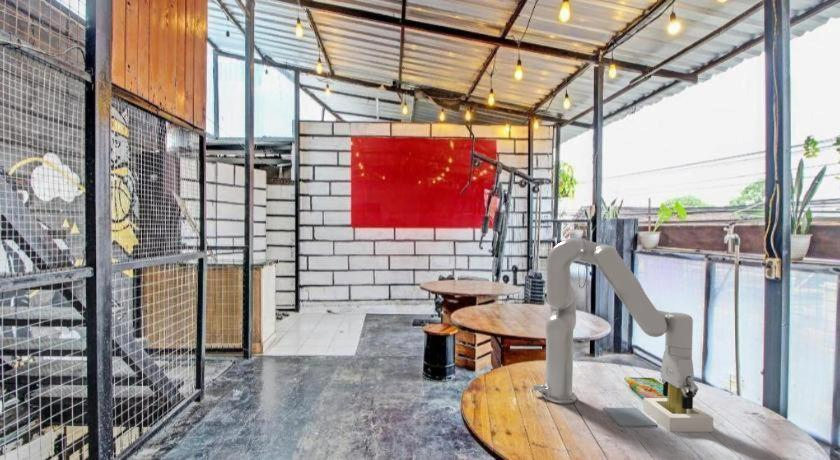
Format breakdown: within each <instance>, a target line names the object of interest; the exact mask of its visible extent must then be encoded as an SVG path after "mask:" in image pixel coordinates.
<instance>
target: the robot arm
mask: <svg viewBox="0 0 840 460" xmlns="http://www.w3.org/2000/svg"><path fill="white" fill-rule="evenodd" d="M576 261H578V262H583V263H586V264H590V265H593V266H595V267H596V268H597V269H598V270H599V272H600V274H602V276H603V277H604V278H605V280H606V281H607V283H608V284H609V286H610V287H611V289H612V290H613V292H614V293H615V294H616V297H618V298H619V300H620V301H621V303H622V304H623V305H624V306H625V309H627V312H628V313H629V314H630V315H631V317H632V318H633V320H634V321H635V322H636V324H637V325H638V326H639V328H640V329H641V330H642V332H643V333H644V334H646V335H647V336H649V337H653V338H660V337H662V336H664V334H665V339H664V340H665V343H664V344H665V345H664V347H665V348H664V351H663V355H662V361H661V367H660V368H659V371H660V377H661V379H662V380H661V383H662V384H663V395H664V396H668V383H670V384H671V385H673V386H674V387H676V388H678V389H681V390H682V392H683V395H684V396H682V408H683V409H692V408H693V405H694V398H695V396H696V395H697V393H698V391H699V387H698V385H697V383H695V375H694V364H693V329H694V328H693V326H694V325H693V324H694V322H693V321H694V319H693V318H692V316H691V315H690V314H687V313H683V312H668V311H663V310H659V309H657V308H656V306H655V305H654V304H653V303H652V301H651V300H650V299H649V297H648V295H647V294H646V293H645V290H644V288H643V286H642V285H641V282H640V280H639V279H638V278H637V277H636V275H635V274H634V273H633V271H632V270H631V269H630V268H629V266H628V265H627V264H626V262H625V261H624V260H623V258H622V257H621V256H620V254H619V252H618V249H616V248H615V247H613V246H612V245H609V244H605V243H604V244H603V243H599V242H596V241H595V242H594V241H590V240H585V239H581V238H577V237H572V238H571V237H570V238H567V239H565V240H562V241H561V242H559V243H557V244H556V245H554V247H552V249H551V250H550V251H549V253H548V255H547V259H546V301H547V303H548V305H549V306H550V308H549V309H550V316H549V317H548V318H547V321H546V323H545V356H546V357H545V381H542V383H541V384H540V385H539V384H532V390H533V391H538V393H540V394H541V396H542V398H543V399H545V400H547V401H549V402H552V403H557V404H562V405H563V404H565V405H566V404H568V405H569V404H573V403H574V402H576V401H577V395H576V393H575V392H573V371H574V368H573V367H574V363H573V362H574V357H573V356H574V331H575V329H576V325H577V324H576V323H577V313H576V310H577V308H576V307H577V306H576V293H575V289H574V287H573V286H572V285H571V266H572V264H573V263H574V262H576ZM685 385H687V386H686V387H684V386H685ZM685 389H687V392H686V390H685Z"/></svg>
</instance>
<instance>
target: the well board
mask: <svg viewBox="0 0 840 460" xmlns="http://www.w3.org/2000/svg"><path fill="white" fill-rule="evenodd" d="M666 408H667V398H644V400H643V412H645V414H647V415H648V417H649V416H650V417H651V418H652V419H653V420H654V421H656V423H659V425H661V427H663V428H664V429H666V430H667V431H668V432H669V433H672V432H673V433H676V432H677V433H679V432H681V433H682V432H683V433H688V432H689V433H697V432H698V433H701V432H704V433H706V432H707V433H709V432H710V433H711V432H712V433H713V432H714V417H713V416H712V415H710V414H708V413H707V412H706V411H704V410H702V409H701V408H699V407H697V406H696V405H694V404H693V408H692V409H687V414H672V413H671V412H669V411H668V410H667V409H666Z"/></svg>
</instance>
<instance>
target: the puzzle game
mask: <svg viewBox="0 0 840 460" xmlns="http://www.w3.org/2000/svg"><path fill="white" fill-rule="evenodd" d="M623 380H624V382H625V383H626V384H628V385H629V388H630V389H631V391H632V392H633V393H635V395H637V396H638V397H640V398H641V399H642V400H643V401H644V398H667V397H668V396H664V395H663V383H662V382H660V381H659V380H657V379H656V378H655V377H643V376H642V377H641V376H640V377H639V376H638V377H637V376H636V377H635V376H634V377H633V376H623Z"/></svg>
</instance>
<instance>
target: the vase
mask: <svg viewBox="0 0 840 460" xmlns="http://www.w3.org/2000/svg"><path fill="white" fill-rule="evenodd" d="M686 386H687V385H685V386H684V387H686ZM685 390H686V392H688V389H685ZM682 396H684V395H683V392H682V390H681V389H678V388H676V387H674V386H673V385H671V384H670V383H668V397H667V408H666V409H667V410H668V411H669V412H671V413H672V414H687V409H683V408H682Z"/></svg>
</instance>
